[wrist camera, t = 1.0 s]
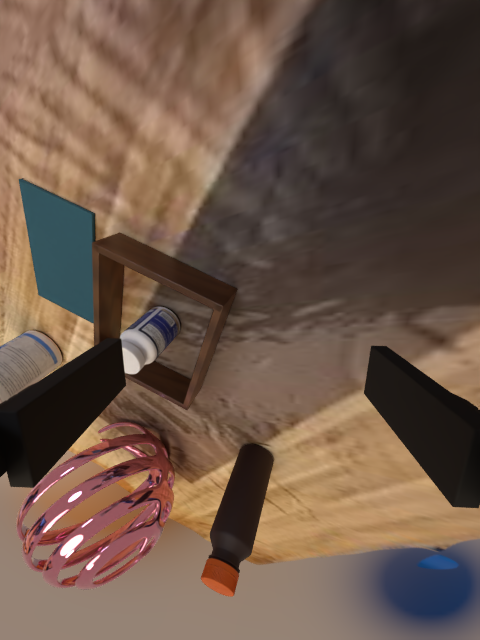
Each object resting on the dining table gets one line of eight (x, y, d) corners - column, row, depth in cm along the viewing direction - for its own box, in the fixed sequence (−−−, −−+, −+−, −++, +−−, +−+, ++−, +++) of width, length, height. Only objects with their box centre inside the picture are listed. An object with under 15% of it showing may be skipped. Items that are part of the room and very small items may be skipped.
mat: (22, 178, 37) (18, 179, 37) (94, 213, 36) (92, 214, 36) (41, 293, 49) (38, 295, 49) (96, 322, 48) (94, 324, 48)
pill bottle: (154, 333, 45) (111, 373, 37) (146, 302, 42) (98, 338, 34) (184, 339, 43) (147, 381, 35) (178, 307, 40) (136, 346, 32)
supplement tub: (26, 320, 55) (-61, 366, 44) (65, 345, 55) (-12, 397, 44) (29, 349, 61) (-47, 396, 50) (64, 371, 61) (-4, 424, 49)
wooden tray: (119, 232, 37) (91, 242, 33) (237, 288, 35) (223, 306, 31) (114, 344, 50) (94, 361, 46) (200, 389, 48) (187, 410, 44)
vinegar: (251, 438, 51) (205, 571, 35) (280, 458, 51) (249, 599, 35) (234, 451, 55) (187, 575, 39) (262, 469, 55) (226, 601, 39)
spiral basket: (7, 503, 59) (20, 666, 43) (13, 412, 48) (33, 581, 32) (134, 457, 79) (176, 556, 62) (158, 385, 68) (216, 481, 51)
